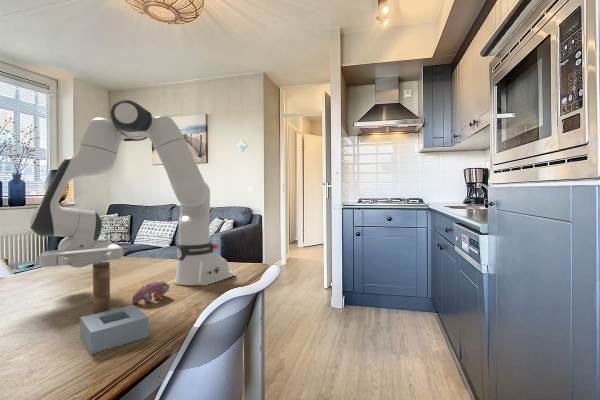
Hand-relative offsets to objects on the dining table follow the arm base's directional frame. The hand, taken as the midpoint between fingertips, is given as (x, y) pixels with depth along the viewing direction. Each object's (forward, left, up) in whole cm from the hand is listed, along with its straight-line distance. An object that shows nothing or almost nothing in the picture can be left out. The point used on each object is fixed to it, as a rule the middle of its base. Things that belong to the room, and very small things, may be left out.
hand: (88, 259), depth 86 cm
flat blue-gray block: (0, +25, -14) cm, 29 cm away
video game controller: (-15, +5, -14) cm, 21 cm away
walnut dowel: (0, +13, -14) cm, 19 cm away
